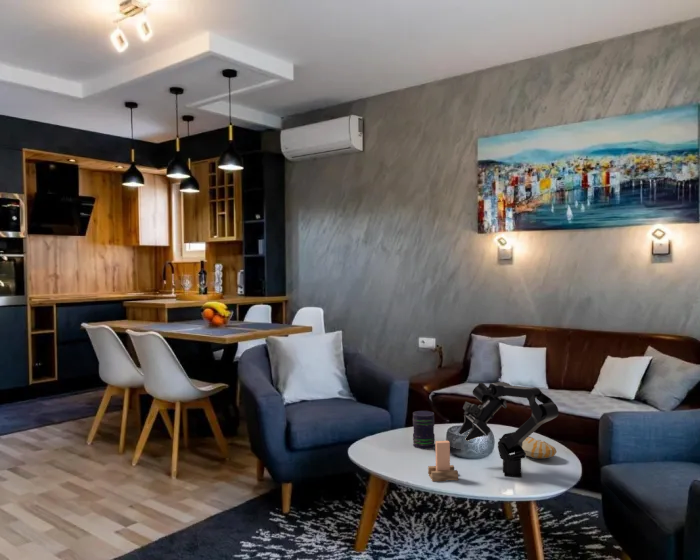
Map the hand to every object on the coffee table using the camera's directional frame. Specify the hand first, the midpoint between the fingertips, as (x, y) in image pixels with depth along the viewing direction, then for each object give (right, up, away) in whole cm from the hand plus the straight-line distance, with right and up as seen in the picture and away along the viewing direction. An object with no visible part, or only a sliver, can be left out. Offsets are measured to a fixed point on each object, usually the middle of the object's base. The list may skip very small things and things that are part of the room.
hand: (462, 436), depth 231 cm
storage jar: (-12, -12, +29) cm, 34 cm away
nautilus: (+34, -12, +14) cm, 39 cm away
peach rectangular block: (-10, -12, -10) cm, 18 cm away
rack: (-10, -13, -10) cm, 19 cm away
